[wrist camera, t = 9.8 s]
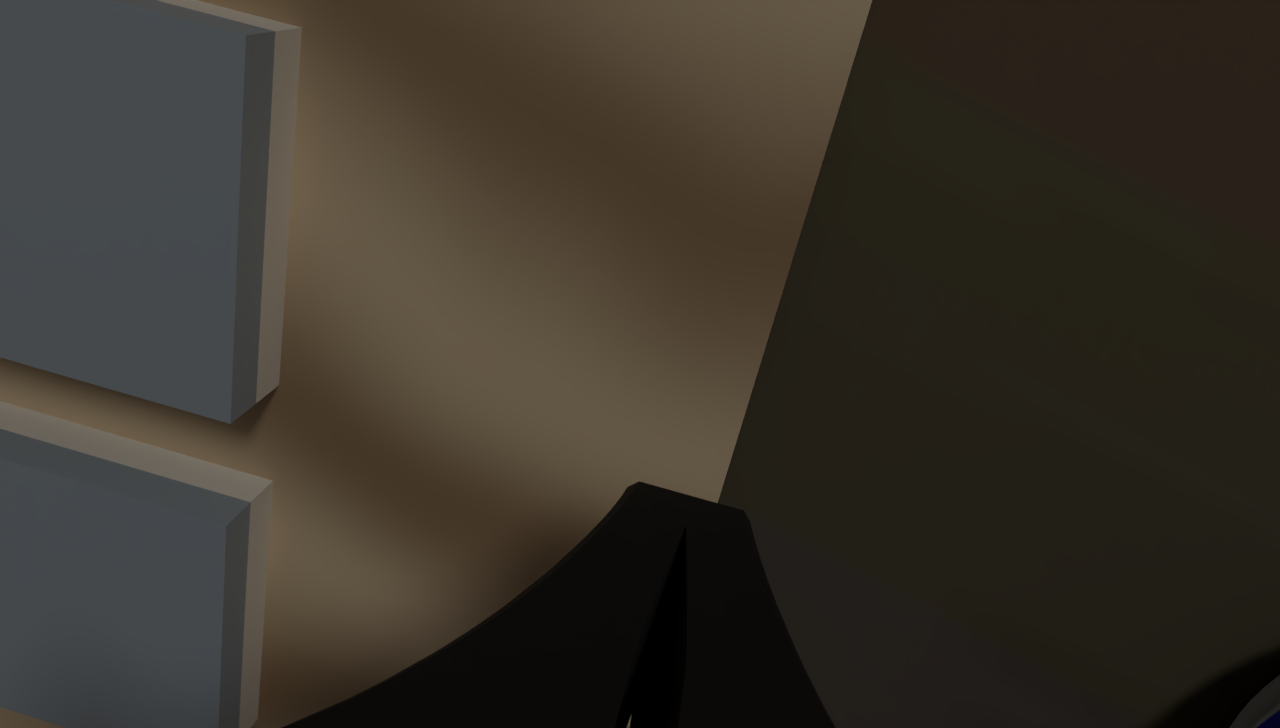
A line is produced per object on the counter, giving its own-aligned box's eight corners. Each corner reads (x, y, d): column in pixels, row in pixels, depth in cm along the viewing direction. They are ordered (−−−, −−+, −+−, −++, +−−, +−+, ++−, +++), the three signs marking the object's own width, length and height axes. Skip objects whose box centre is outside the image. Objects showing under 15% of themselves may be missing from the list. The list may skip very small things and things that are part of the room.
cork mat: (587, 919, 21) (583, 936, 21) (-68, 712, 22) (-83, 725, 22) (929, -194, 12) (932, -198, 11) (-231, -466, 13) (-261, -478, 12)
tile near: (230, 423, 15) (-115, 324, 15) (279, 385, 16) (-40, 293, 17) (246, 34, 12) (-169, -73, 13) (301, 27, 14) (-74, -70, 14)
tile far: (216, 775, 18) (-66, 686, 19) (257, 718, 20) (-7, 636, 20) (226, 525, 16) (-101, 428, 16) (273, 480, 17) (-30, 391, 17)
